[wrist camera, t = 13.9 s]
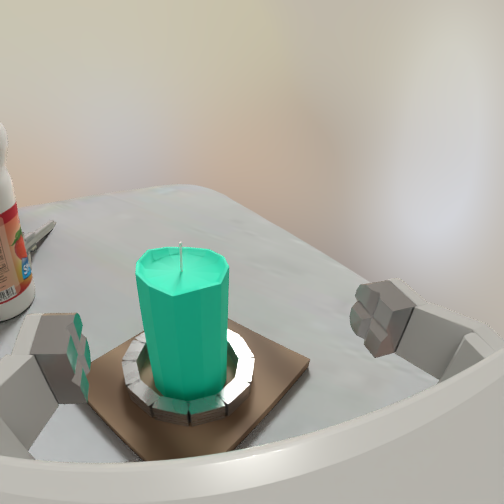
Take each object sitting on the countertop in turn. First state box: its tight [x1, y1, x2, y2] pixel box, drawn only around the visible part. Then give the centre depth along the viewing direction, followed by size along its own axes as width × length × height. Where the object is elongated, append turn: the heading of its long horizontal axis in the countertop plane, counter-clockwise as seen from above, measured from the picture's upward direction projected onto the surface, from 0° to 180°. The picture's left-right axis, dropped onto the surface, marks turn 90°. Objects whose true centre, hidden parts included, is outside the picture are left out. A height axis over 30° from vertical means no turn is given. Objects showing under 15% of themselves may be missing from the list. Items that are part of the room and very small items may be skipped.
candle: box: [135, 242, 229, 401], centre depth 22 cm, size 6×6×12 cm
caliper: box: [22, 220, 56, 270], centre depth 44 cm, size 20×1×6 cm, turn 19°
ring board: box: [86, 319, 310, 462], centre depth 25 cm, size 16×14×1 cm
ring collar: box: [122, 329, 254, 427], centre depth 25 cm, size 10×10×2 cm
